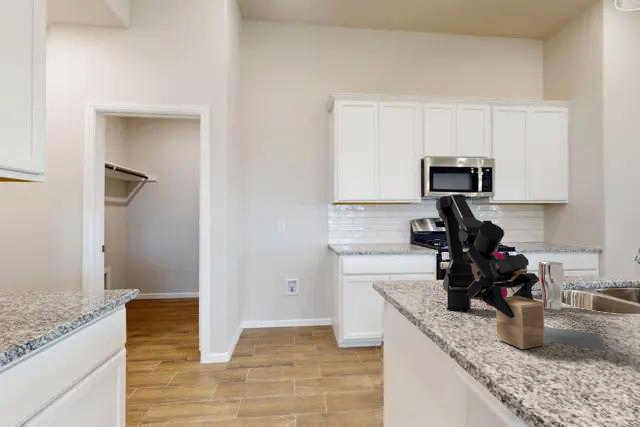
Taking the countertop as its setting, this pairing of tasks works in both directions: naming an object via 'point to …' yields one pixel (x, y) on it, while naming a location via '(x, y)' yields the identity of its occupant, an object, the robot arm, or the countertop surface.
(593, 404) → the countertop surface
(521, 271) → the coffee cup
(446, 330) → the countertop surface
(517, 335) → the cover box
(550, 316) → the countertop surface
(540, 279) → the white drink can
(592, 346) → the slate mat
